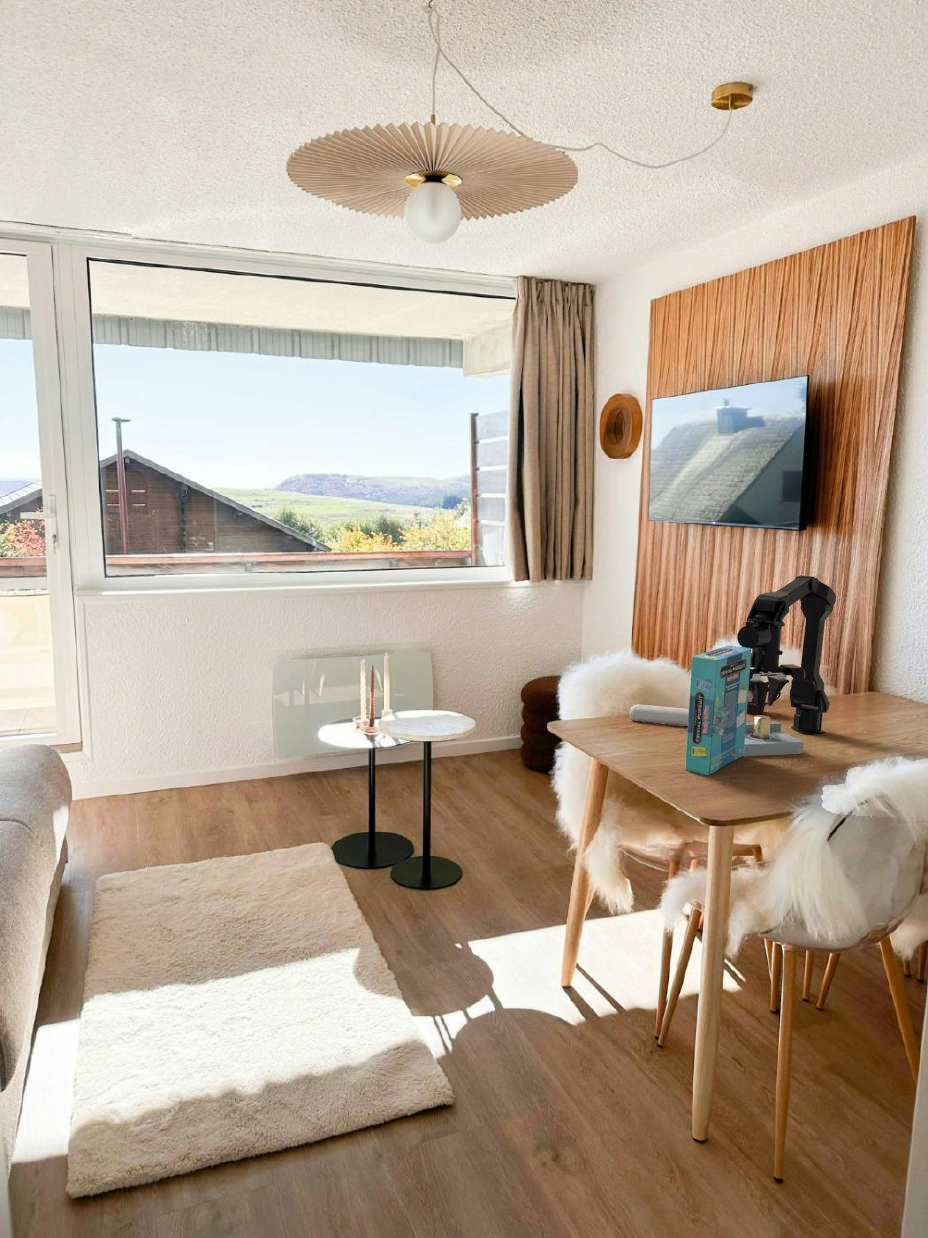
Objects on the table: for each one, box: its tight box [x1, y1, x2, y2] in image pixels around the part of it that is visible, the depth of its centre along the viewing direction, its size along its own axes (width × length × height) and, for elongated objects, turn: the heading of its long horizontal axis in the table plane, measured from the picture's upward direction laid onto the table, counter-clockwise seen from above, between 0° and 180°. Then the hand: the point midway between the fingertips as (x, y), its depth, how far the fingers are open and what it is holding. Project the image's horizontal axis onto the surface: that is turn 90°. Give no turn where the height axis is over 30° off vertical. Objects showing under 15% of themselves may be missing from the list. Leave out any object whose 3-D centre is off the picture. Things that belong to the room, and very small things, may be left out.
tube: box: [629, 703, 689, 727], centre depth 242 cm, size 5×5×25 cm
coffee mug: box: [747, 676, 782, 716], centre depth 256 cm, size 12×9×10 cm
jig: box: [743, 721, 804, 757], centre depth 220 cm, size 16×12×5 cm
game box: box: [684, 645, 752, 776], centre depth 205 cm, size 20×6×27 cm, turn 140°
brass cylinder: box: [753, 714, 772, 740], centre depth 220 cm, size 4×4×8 cm
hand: (763, 705), depth 219 cm, fingers open, 3 cm apart
